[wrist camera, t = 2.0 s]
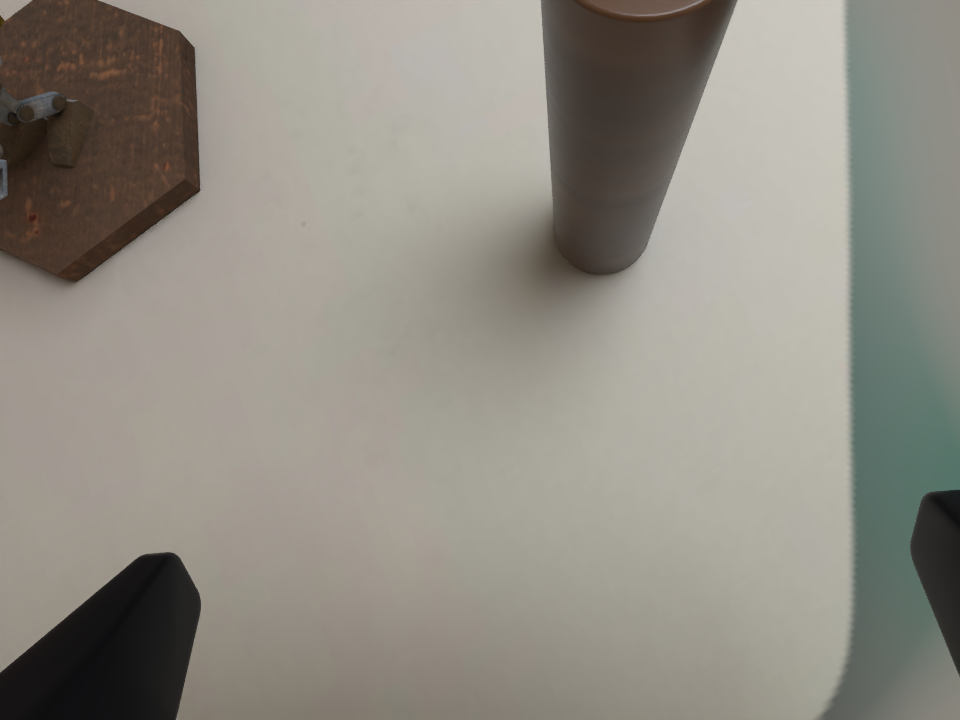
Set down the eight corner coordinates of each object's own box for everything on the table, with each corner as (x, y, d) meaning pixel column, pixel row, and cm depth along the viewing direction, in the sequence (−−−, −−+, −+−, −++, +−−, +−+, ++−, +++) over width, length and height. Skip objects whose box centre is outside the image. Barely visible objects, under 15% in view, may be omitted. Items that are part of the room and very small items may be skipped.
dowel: (670, 233, 22) (813, -82, 9) (595, 294, 22) (634, 63, 9) (607, 165, 22) (660, -222, 10) (535, 224, 22) (492, -85, 10)
